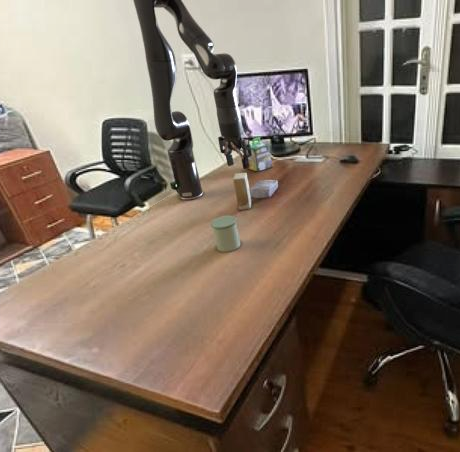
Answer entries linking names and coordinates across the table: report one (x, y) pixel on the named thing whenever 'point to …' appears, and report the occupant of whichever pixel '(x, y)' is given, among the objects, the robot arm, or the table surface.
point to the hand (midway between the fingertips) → (238, 167)
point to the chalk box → (259, 156)
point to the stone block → (263, 189)
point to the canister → (226, 233)
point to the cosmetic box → (242, 191)
